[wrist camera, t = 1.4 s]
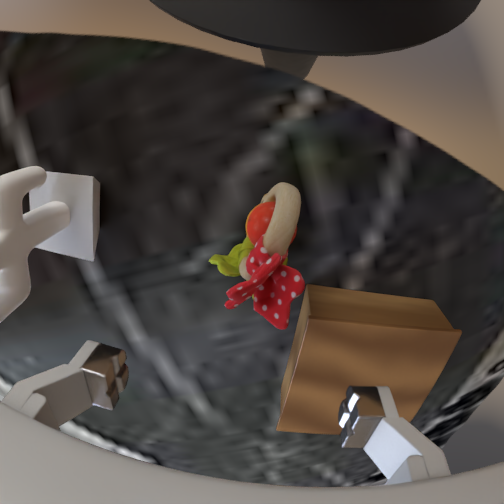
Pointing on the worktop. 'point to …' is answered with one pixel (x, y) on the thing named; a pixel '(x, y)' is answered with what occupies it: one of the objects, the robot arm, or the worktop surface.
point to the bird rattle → (266, 257)
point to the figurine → (43, 224)
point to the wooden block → (361, 354)
